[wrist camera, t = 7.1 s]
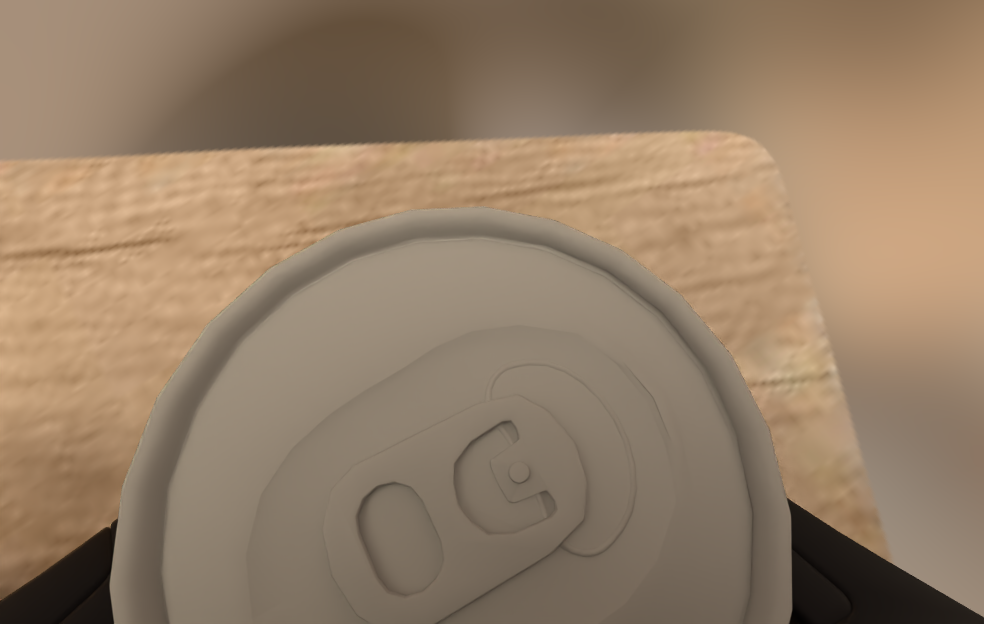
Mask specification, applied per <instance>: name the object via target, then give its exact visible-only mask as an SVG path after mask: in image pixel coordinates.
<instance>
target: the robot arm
mask: <svg viewBox="0 0 984 624" xmlns="http://www.w3.org/2000/svg"><path fill="white" fill-rule="evenodd" d="M787 501H788V505H789V509H790V513H791V556H792V613H791V617H790V621H789V624H984V617H982V616H980V615H979V614H977V613H975V612H974V611H972V610H970V609H968V608H967V607H965V606H963V605H962V604H960V603H958V602H956V601H955V600H953V599H951V598H949V597H948V596H946V595H945V594H943V593H941V592H939V591H938V590H936V589H934V588H932V587H931V586H929V585H927V584H926V583H924V582H922V581H921V580H919V579H917V578H915V577H914V576H912V575H910V574H909V573H907V572H905V571H903V570H902V569H900V568H898V567H897V566H895V565H893V564H892V563H890V562H888V561H886V560H885V559H883V558H881V557H880V556H878V555H876V554H875V553H873V552H871V551H870V550H868V549H866V548H865V547H863V546H861V545H860V544H858V543H856V542H855V541H853V540H852V539H850V538H848V537H847V536H845V535H843V534H842V533H840V532H838V531H837V530H835V529H834V528H832V527H831V526H829V525H828V524H826V523H824V522H823V521H821V520H820V519H818V518H817V517H815V516H814V515H812V514H811V513H809V512H807V511H806V510H804V509H803V508H801V507H800V506H798V505H797V504H795V503H794V502H792V501H791V500H789V499H788V498H787ZM117 523H118V519H116V520H115V521H114V522H112V524H111V528H109V527H106V528H104V529H103V530H101V531H100V532H98V533H97V534H96V535H94V536H93V537H92V538H90V539H89V540H88V541H86V542H85V543H83V544H82V545H81V546H79V547H78V548H77V549H75V550H74V551H72V552H71V553H70V554H68V555H67V556H65V557H64V558H62V559H61V560H60V561H58V562H57V563H55V564H54V565H53V566H51V567H50V568H48V569H47V570H46V571H44V572H43V573H41V574H40V575H39V576H37V577H36V578H34V579H33V580H31V581H30V582H28V583H27V584H25V585H24V586H22V587H21V588H19V589H18V590H16V591H15V592H13V593H12V594H10V595H9V596H7V597H6V598H4V599H3V600H1V601H0V624H114V618H113V610H112V602H111V594H110V587H109V586H110V578H111V570H112V562H113V555H114V547H115V539H116V531H117Z"/></svg>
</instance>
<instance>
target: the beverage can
mask: <svg viewBox="0 0 984 624" xmlns="http://www.w3.org/2000/svg"><path fill="white" fill-rule="evenodd" d="M109 587H110V594H111V602H112V610H113V618H114V624H789V621H790V617H791V613H792V556H791V513H790V509H789V505H788V501H787V497H786V493H785V490H784V486H783V482H782V478H781V474H780V470H779V466H778V462H777V458H776V454H775V450H774V446H773V442H772V438H771V434H770V430H769V428H768V426H767V424H766V422H765V420H764V418H763V416H762V414H761V412H760V410H759V408H758V406H757V404H756V402H755V400H754V398H753V396H752V394H751V392H750V390H749V388H748V386H747V384H746V382H745V380H744V378H743V377H742V375H741V373H740V371H739V369H738V367H737V365H736V363H735V361H734V359H733V357H732V355H731V354H730V353H729V351H728V350H727V349H726V348H725V347H724V345H723V344H722V343H721V342H720V341H719V339H718V338H717V337H716V336H715V335H714V334H713V332H712V331H711V330H710V329H709V328H708V326H707V325H706V324H705V323H704V322H703V320H702V319H701V318H700V317H699V316H698V315H697V313H696V312H695V311H694V310H693V309H692V307H691V306H690V305H689V304H688V303H687V301H686V300H685V299H684V298H683V297H682V295H680V294H679V293H678V292H677V291H675V290H674V289H673V288H671V287H670V286H669V285H667V284H666V283H665V282H663V281H662V280H661V279H659V278H658V277H657V276H655V275H654V274H653V273H651V272H650V271H649V270H647V269H646V268H645V267H644V266H642V265H641V264H640V263H638V262H637V261H636V260H634V259H633V258H632V257H630V256H629V255H628V254H626V253H625V252H624V251H622V250H621V249H619V248H617V247H614V246H612V245H610V244H607V243H605V242H603V241H601V240H598V239H596V238H594V237H592V236H589V235H587V234H585V233H583V232H580V231H578V230H576V229H574V228H571V227H569V226H567V225H565V224H562V223H560V222H558V221H555V220H552V219H546V218H541V217H536V216H531V215H525V214H520V213H515V212H510V211H505V210H499V209H494V208H489V207H484V206H483V207H461V208H439V209H417V210H408V211H405V212H401V213H397V214H394V215H390V216H387V217H383V218H380V219H376V220H372V221H369V222H365V223H362V224H358V225H355V226H351V227H347V228H344V229H340V230H338V231H336V232H334V233H332V234H330V235H329V236H327V237H325V238H323V239H321V240H319V241H318V242H316V243H314V244H312V245H310V246H309V247H307V248H305V249H303V250H301V251H300V252H298V253H296V254H294V255H292V256H291V257H289V258H287V259H285V260H283V261H282V262H280V263H278V264H276V265H274V266H273V267H271V268H269V269H268V270H267V271H266V272H265V273H264V274H263V275H261V276H260V277H259V278H258V279H257V280H256V281H255V282H254V283H253V284H251V285H250V286H249V287H248V288H247V289H246V290H245V291H244V292H243V293H241V294H240V295H239V296H238V297H237V298H236V299H235V300H234V301H233V302H231V303H230V304H229V305H228V306H227V307H226V308H225V309H224V310H223V311H221V312H220V313H219V314H218V315H217V316H216V317H215V318H214V319H213V320H211V321H210V322H209V323H208V324H207V326H206V327H205V328H204V330H203V331H202V333H201V334H200V336H199V337H198V339H197V340H196V341H195V343H194V344H193V346H192V347H191V349H190V350H189V352H188V353H187V355H186V356H185V357H184V359H183V360H182V362H181V363H180V365H179V366H178V368H177V369H176V370H175V372H174V373H173V375H172V376H171V378H170V379H169V381H168V382H167V383H166V385H165V386H164V388H163V389H162V391H161V392H160V394H159V395H158V397H157V398H156V401H155V404H154V406H153V409H152V411H151V414H150V416H149V419H148V421H147V424H146V427H145V429H144V432H143V434H142V437H141V439H140V442H139V444H138V447H137V450H136V452H135V455H134V457H133V460H132V462H131V465H130V467H129V470H128V472H127V475H126V478H125V480H124V483H123V485H122V491H121V499H120V507H119V515H118V523H117V531H116V539H115V547H114V555H113V562H112V570H111V578H110V586H109Z"/></svg>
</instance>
